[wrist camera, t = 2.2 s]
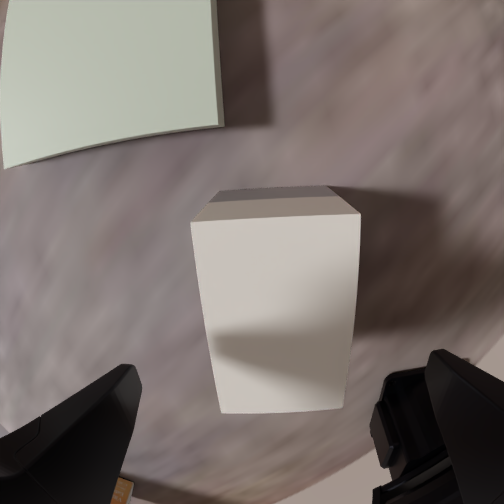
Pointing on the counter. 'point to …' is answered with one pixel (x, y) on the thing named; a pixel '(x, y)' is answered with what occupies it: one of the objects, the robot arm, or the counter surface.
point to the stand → (105, 73)
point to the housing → (278, 296)
